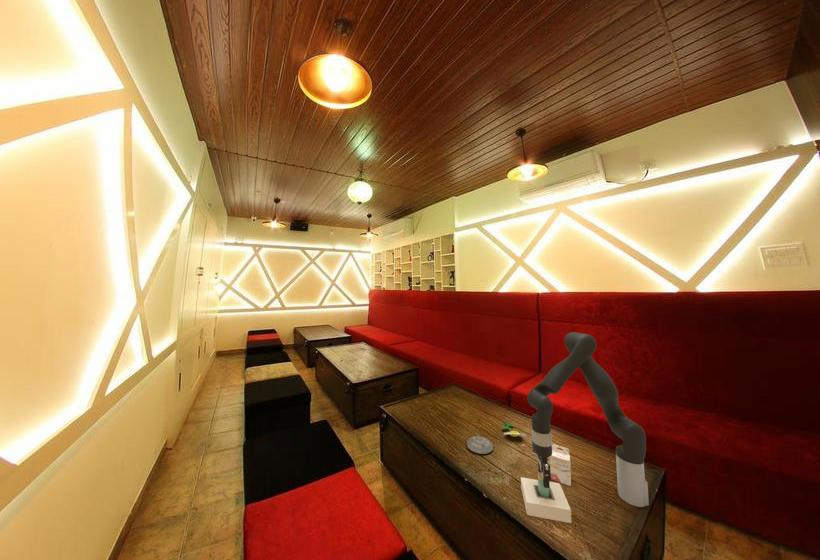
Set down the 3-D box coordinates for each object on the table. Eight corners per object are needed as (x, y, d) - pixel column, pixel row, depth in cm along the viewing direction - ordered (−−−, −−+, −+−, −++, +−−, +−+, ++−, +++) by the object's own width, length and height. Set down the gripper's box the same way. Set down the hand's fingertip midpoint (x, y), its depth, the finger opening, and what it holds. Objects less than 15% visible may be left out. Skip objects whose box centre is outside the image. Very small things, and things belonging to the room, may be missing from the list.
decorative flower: (492, 422, 177) (507, 442, 148) (492, 415, 178) (506, 433, 149) (511, 424, 177) (529, 444, 147) (511, 416, 177) (529, 435, 148)
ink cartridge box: (550, 479, 121) (548, 448, 121) (550, 473, 125) (549, 442, 126) (571, 486, 116) (569, 453, 117) (571, 479, 121) (569, 448, 121)
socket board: (560, 495, 112) (559, 483, 112) (571, 523, 98) (571, 509, 99) (521, 488, 116) (520, 477, 116) (526, 515, 102) (526, 501, 103)
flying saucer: (495, 457, 138) (494, 447, 138) (466, 454, 141) (466, 444, 141) (491, 441, 152) (491, 432, 153) (466, 439, 155) (466, 429, 156)
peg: (548, 501, 108) (547, 473, 109) (551, 509, 105) (549, 480, 105) (537, 499, 110) (536, 471, 110) (540, 507, 106) (538, 478, 106)
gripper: (556, 452, 100) (559, 494, 100) (546, 432, 114) (548, 469, 113) (535, 449, 102) (538, 491, 101) (528, 430, 116) (530, 466, 115)
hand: (543, 479), depth 107 cm, fingers open, 8 cm apart
